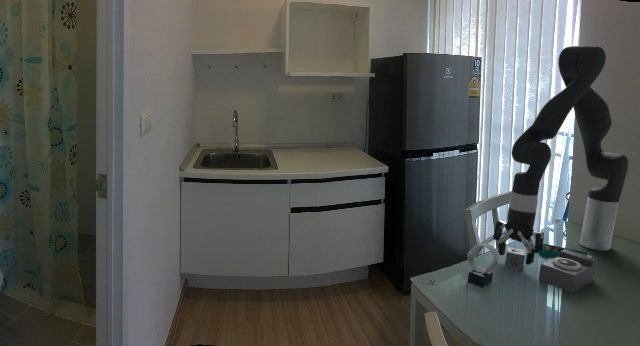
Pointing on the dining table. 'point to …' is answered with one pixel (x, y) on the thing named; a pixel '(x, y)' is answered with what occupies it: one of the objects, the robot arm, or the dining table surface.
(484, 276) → the watch
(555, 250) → the digital multimeter
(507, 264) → the dice cube
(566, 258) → the camera body
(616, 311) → the dining table surface
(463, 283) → the dining table surface
